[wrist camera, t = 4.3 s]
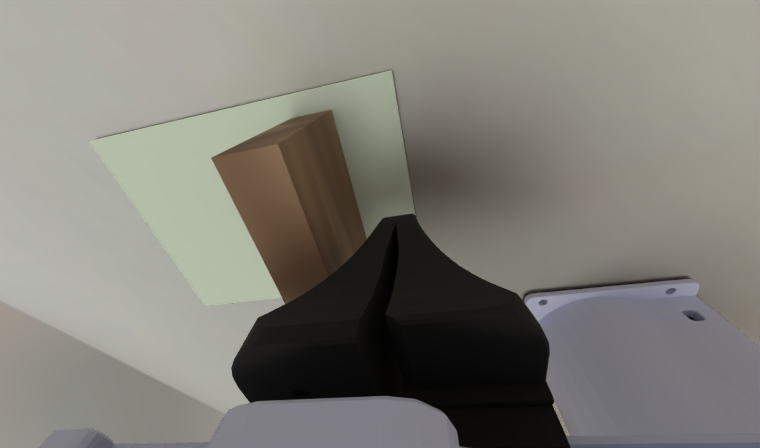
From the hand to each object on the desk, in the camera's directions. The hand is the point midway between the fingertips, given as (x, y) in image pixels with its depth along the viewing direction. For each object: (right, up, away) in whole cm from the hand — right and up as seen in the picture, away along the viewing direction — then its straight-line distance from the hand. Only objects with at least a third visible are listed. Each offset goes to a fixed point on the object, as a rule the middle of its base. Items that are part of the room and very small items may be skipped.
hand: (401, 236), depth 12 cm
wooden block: (-3, +1, +4) cm, 5 cm away
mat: (-7, +1, +5) cm, 9 cm away
